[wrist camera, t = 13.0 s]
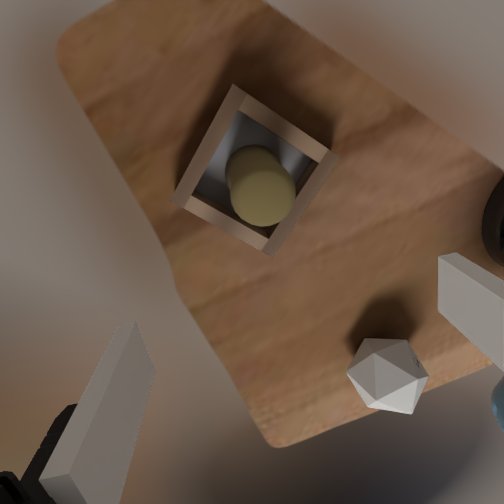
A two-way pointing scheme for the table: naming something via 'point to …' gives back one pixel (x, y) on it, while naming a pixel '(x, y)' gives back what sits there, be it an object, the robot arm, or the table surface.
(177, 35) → the table surface
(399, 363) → the die
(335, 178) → the table surface
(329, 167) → the wooden tray
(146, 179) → the table surface
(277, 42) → the table surface
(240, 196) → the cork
